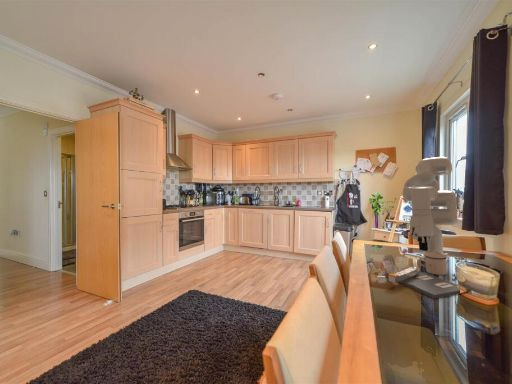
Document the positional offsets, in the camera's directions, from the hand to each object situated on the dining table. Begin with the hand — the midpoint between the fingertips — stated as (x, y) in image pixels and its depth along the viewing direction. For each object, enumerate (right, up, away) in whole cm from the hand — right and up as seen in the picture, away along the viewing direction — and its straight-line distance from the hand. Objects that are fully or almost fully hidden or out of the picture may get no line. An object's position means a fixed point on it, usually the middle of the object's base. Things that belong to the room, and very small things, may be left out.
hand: (423, 250), depth 109 cm
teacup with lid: (+13, -15, +11) cm, 22 cm away
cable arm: (-8, -13, +1) cm, 16 cm away
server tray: (-1, -15, -4) cm, 16 cm away
